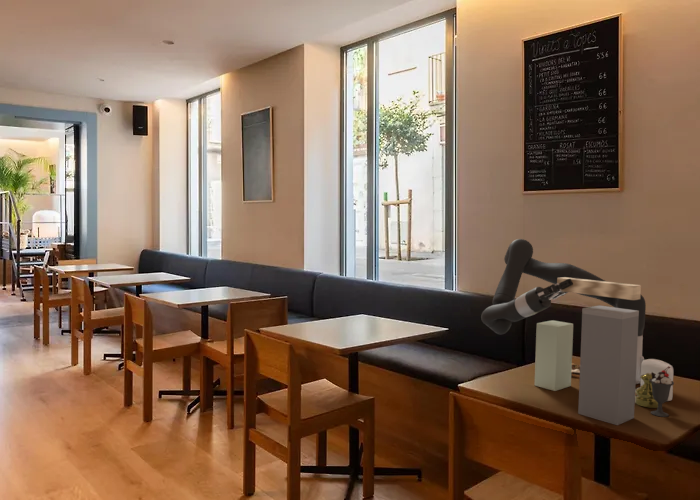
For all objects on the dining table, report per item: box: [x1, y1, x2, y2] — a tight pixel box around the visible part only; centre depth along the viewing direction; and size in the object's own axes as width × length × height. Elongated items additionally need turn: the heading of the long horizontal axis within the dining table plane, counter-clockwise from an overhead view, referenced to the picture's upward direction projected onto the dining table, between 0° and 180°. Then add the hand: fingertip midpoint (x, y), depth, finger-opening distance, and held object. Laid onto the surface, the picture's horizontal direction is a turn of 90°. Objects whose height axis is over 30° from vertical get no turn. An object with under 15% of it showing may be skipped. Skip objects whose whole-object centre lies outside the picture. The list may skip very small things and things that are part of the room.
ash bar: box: [557, 277, 642, 300], centre depth 175 cm, size 24×4×4 cm, turn 39°
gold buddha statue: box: [635, 373, 658, 409], centre depth 185 cm, size 7×7×10 cm
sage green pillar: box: [534, 319, 574, 392], centre depth 204 cm, size 8×10×22 cm
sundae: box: [649, 366, 675, 418], centre depth 176 cm, size 7×7×15 cm
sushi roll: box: [571, 362, 580, 379], centre depth 221 cm, size 15×15×4 cm
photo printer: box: [639, 358, 674, 402], centre depth 193 cm, size 10×4×12 cm, turn 26°
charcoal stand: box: [577, 305, 639, 426], centre depth 173 cm, size 12×10×32 cm
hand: (575, 281), depth 181 cm, fingers closed on ash bar, 4 cm apart
